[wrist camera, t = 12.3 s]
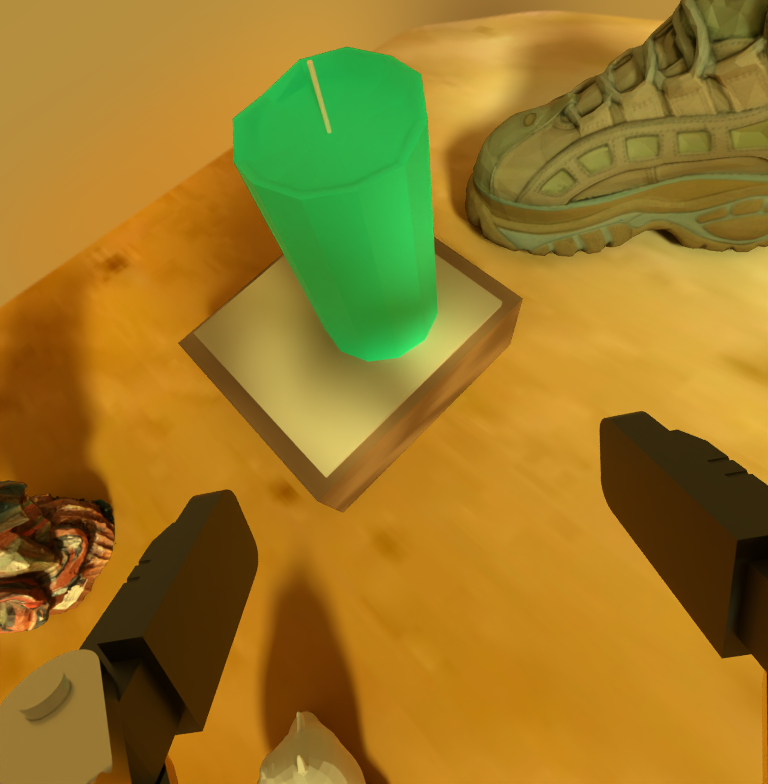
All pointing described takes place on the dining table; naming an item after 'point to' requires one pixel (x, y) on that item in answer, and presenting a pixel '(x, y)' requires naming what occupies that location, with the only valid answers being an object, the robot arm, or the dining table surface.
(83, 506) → the figurine
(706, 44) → the sneaker
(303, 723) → the figurine
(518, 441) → the dining table surface
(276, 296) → the wooden square box
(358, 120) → the candle
